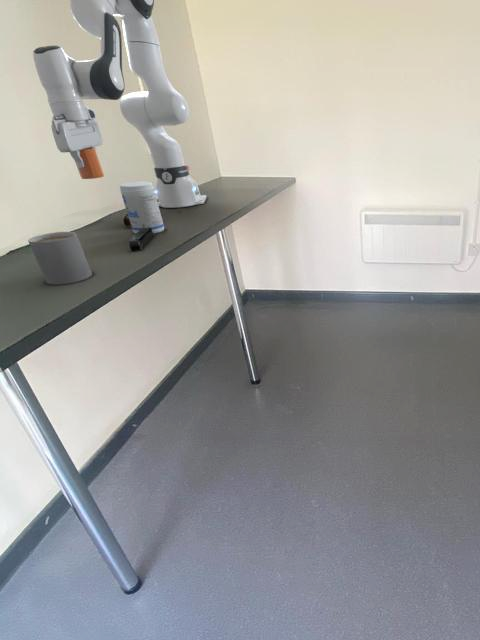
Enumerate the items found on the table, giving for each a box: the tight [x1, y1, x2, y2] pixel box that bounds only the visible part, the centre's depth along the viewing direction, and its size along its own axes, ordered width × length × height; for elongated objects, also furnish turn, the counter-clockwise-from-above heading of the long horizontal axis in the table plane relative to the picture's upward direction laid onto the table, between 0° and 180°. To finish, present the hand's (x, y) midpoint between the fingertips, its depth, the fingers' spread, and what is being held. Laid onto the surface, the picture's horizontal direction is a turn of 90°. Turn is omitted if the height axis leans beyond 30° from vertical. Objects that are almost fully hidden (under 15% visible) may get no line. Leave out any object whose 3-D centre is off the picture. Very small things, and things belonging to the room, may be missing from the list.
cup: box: [74, 148, 105, 180], centre depth 149 cm, size 6×6×8 cm
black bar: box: [128, 227, 155, 252], centre depth 145 cm, size 18×3×3 cm, turn 11°
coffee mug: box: [28, 231, 93, 286], centre depth 118 cm, size 13×10×10 cm
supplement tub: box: [119, 181, 165, 235], centre depth 154 cm, size 10×10×15 cm
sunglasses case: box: [123, 213, 132, 228], centre depth 171 cm, size 18×7×7 cm
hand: (88, 165), depth 150 cm, fingers closed on cup, 6 cm apart
